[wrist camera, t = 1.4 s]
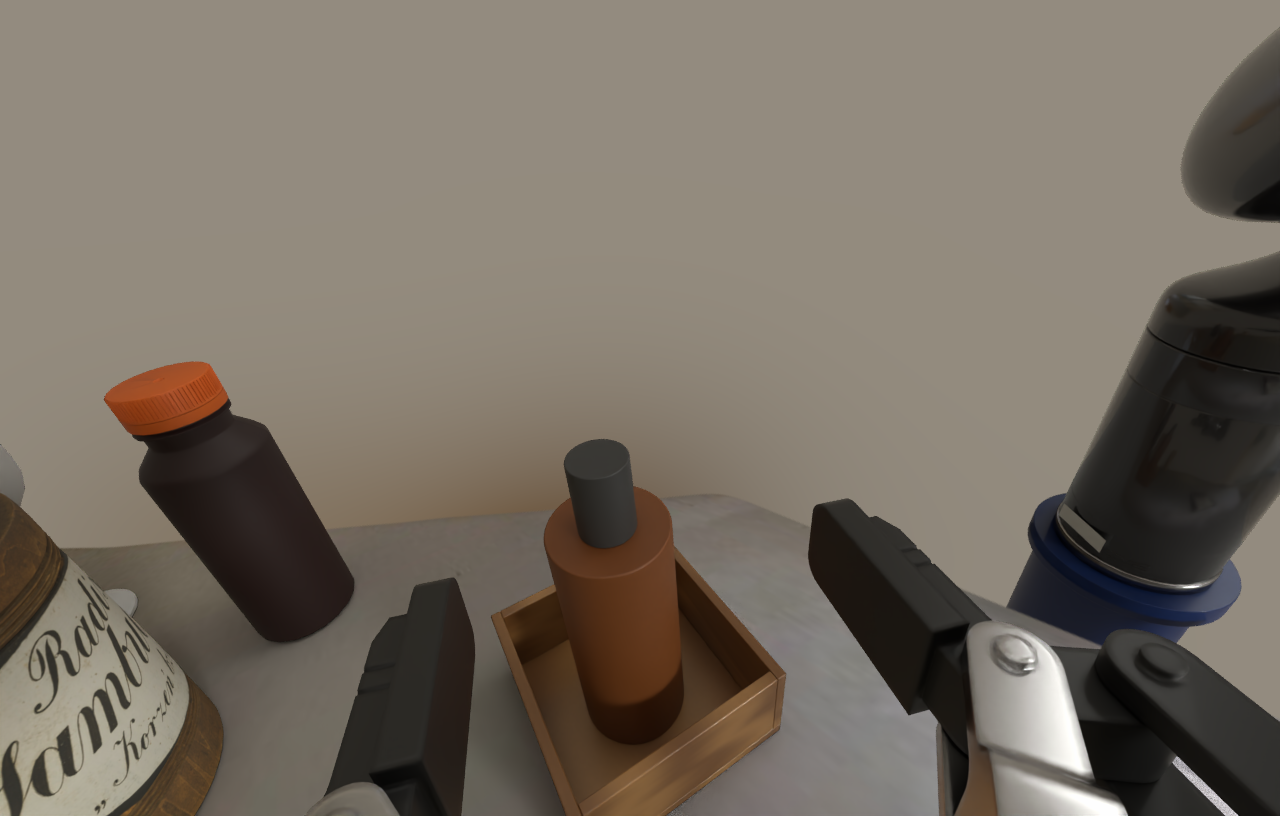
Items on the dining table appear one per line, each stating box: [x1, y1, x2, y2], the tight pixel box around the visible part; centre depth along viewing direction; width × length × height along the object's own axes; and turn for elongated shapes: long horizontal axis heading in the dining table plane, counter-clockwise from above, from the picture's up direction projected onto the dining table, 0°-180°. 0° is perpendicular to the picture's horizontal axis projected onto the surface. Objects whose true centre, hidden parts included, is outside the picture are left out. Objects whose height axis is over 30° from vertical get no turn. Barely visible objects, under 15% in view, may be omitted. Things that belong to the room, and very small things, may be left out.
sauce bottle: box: [544, 439, 684, 744], centre depth 26 cm, size 6×6×18 cm
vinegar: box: [104, 362, 354, 642], centre depth 34 cm, size 7×7×20 cm
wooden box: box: [491, 546, 786, 816], centre depth 30 cm, size 12×12×6 cm
